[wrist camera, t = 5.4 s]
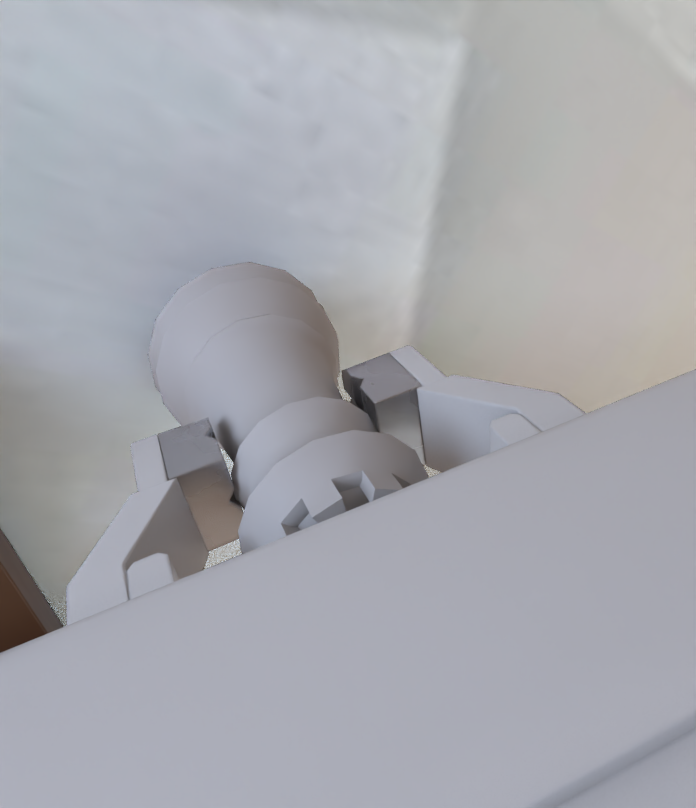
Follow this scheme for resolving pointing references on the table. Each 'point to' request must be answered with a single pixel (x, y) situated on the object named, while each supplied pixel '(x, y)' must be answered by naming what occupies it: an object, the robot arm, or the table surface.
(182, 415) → the rook chess piece
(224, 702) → the robot arm
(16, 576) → the plate rack
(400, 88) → the table surface
